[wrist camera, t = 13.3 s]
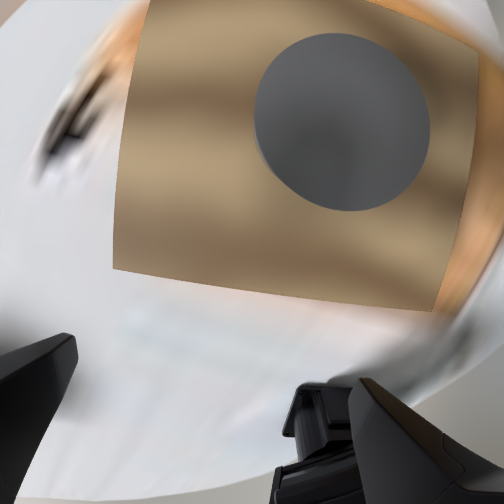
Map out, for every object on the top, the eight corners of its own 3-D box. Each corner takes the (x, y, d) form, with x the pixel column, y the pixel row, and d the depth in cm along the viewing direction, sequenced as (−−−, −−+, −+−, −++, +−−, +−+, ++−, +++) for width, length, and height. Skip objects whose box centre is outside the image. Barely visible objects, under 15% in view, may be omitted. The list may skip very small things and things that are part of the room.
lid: (427, 307, 17) (431, 312, 17) (116, 264, 16) (112, 268, 16) (473, 53, 12) (478, 51, 12) (161, -21, 11) (159, -26, 11)
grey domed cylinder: (380, 189, 14) (432, 207, 10) (259, 197, 15) (263, 218, 10) (370, 71, 13) (418, 42, 8) (247, 72, 13) (245, 34, 8)
